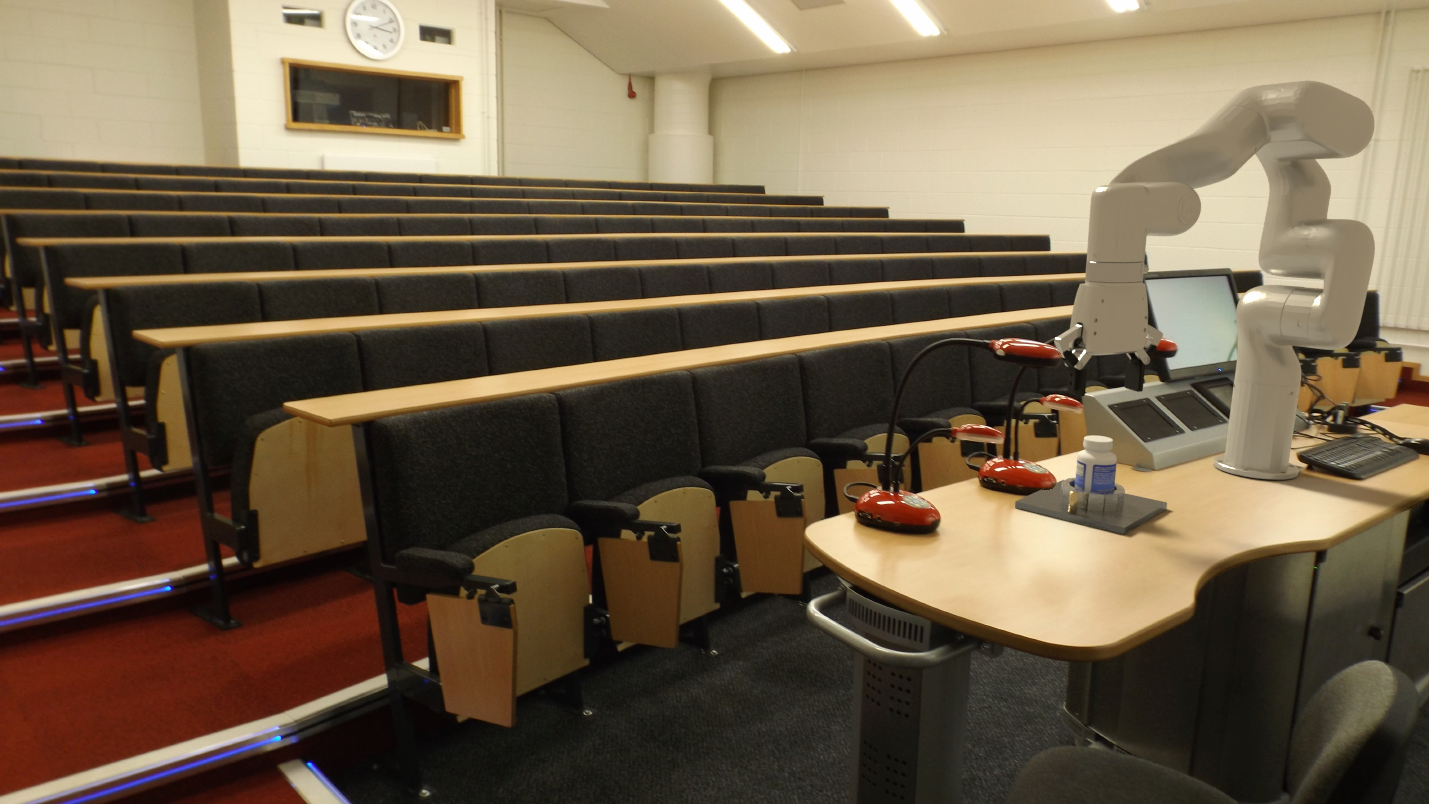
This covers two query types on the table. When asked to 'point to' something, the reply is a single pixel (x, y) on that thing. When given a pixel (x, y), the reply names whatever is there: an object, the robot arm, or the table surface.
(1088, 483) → the pill bottle
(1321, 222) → the robot arm
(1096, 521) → the flange base
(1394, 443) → the table surface
